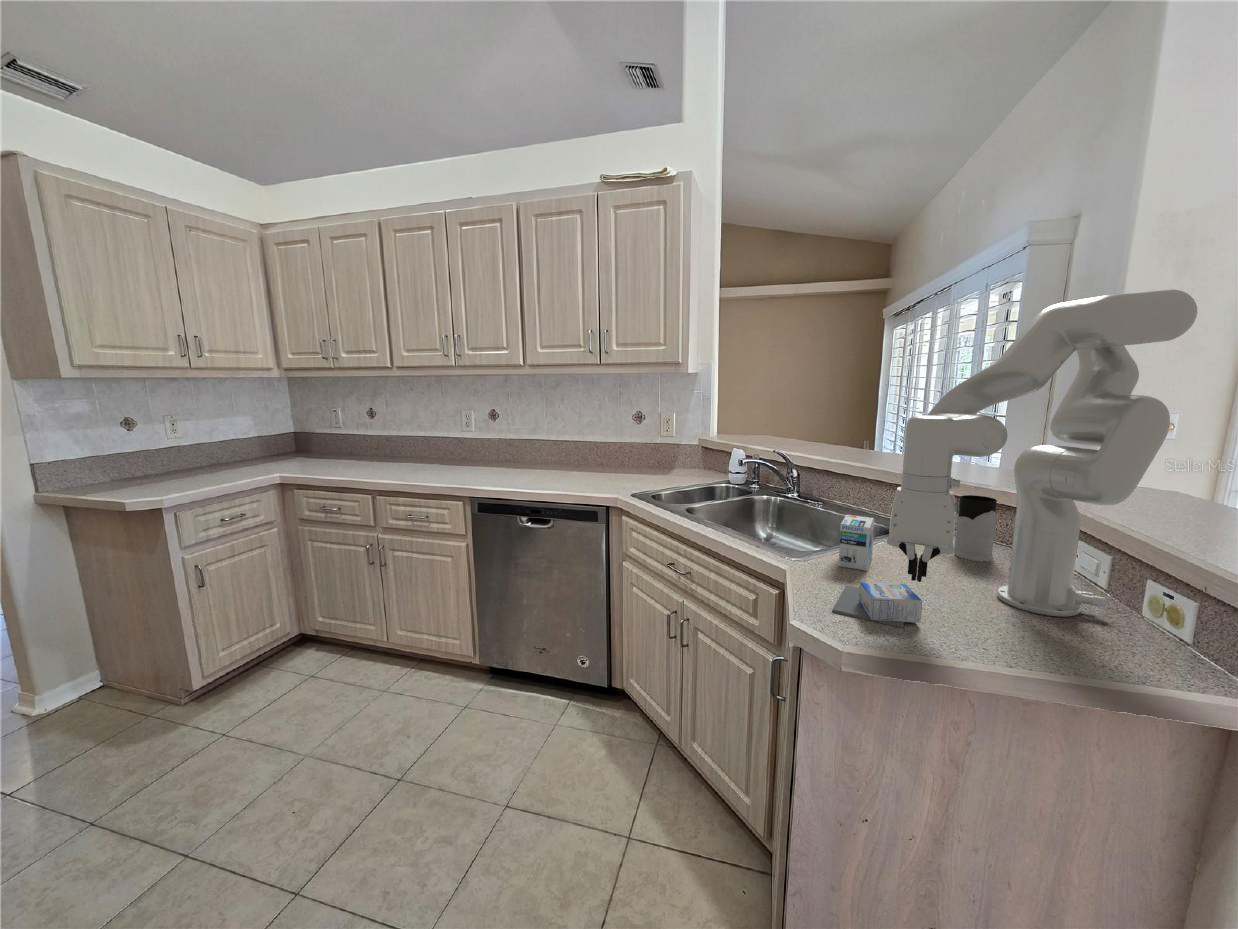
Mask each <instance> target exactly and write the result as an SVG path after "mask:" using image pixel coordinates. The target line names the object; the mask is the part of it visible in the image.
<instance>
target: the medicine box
mask: <svg viewBox="0 0 1238 929" xmlns="http://www.w3.org/2000/svg"><path fill="white" fill-rule="evenodd" d="M858 588H859V602H860V604H861V605H862V607H863V608H864V609H865V611H866V612H867V614H868V615H869V617H870V618H871V619H872V620H883V621H899V622H905V623H918V624H919V623H921V620H922V613H923V612H922V609H923V600H922V599H921V598H920V597H919V596H918V595H917V594H916V593H915V592H914V591H913V590H912V589H911V588H910V587H909V586H908V585H907V584H905V583H891V582H889V583H887V582H885V583H884V582H872V581H871V582H870V581H860V582H859V587H858Z"/></svg>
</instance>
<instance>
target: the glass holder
mask: <svg viewBox="0 0 1238 929" xmlns="http://www.w3.org/2000/svg"><path fill="white" fill-rule="evenodd" d="M997 501H998V499H996V498H994V497H989V496H983V495H973V494H972V495H971V494H969V495H968V494H965V495H961V496H960V497H959V503H958V500H957V499H956V498H955V515H957V517H956V518H957V519H956V526H955V529H956V530H955V532H954V539H955V540H954V541H955V542H954V555H953V556H955V555H957V556H959V557H958V558H960V557H961V558H960V559H963V558H965V559H964V560H967V559H968V561H974V562H983V561H986V562H992V561H993V560H994V559H995V556H994V555H993V548H994V539H995V531H996V521H997V505H998V502H997ZM957 556H956V557H957Z"/></svg>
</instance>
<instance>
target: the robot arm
mask: <svg viewBox="0 0 1238 929" xmlns="http://www.w3.org/2000/svg"><path fill="white" fill-rule="evenodd" d="M1197 305H1198V304H1197V302H1196V301H1195V299H1194V298H1193V297H1192V296H1191V294H1189V293H1188V292H1185V291H1183V290H1181V289H1180V290H1178V289H1163V290H1154V291H1144V292H1132V293H1130V292H1129V293H1118V294H1117V293H1116V294H1107V295H1101V296H1100V295H1099V296H1095V297H1088V298H1082V299H1077V300H1076V299H1075V300H1070V301H1065V302H1064V301H1063V302H1059V303H1056V304H1052V305H1050V306H1048V307H1046V308H1044V309H1043V310H1041V311H1040V312H1039V313H1038V314H1036V315H1035V317H1034V318H1033V319H1032V320H1031V321H1030V322H1029V324H1028V325H1026V327H1025V328H1024V329H1023V330H1022V332H1021V333H1020V334H1019V335H1018V336H1017V337H1016V338H1015V340H1013V342H1012V343H1011V344H1010V345H1009V347H1008V348H1007V349H1005V351H1004V352H1003V354H1002V355H1000V357H998V359H997V360H996V361H995V362H994V363H992V364H991V365H990V366H988V367H986V368H984V369H981V370H980V371H978V372H977V373H975V374H974V375H971V377H968V378H967V379H966V380H963V381H962V382H961V383H959V384H957V385H956V386H954V387H953V388H951V389H950V390H948V391H947V392H946V393H945V394H944V395H943V396H942V397H941V398H940V399H939V401H938V402H937V403H936V404H935V405H934V406H933V407H932V408H931V410H930V411H929V412H928V413H927V415H915V416H910V418H909V419H908V420H907V422H906V427H905V435H904V436H905V438H904V449H903V460H902V461H903V462H902V463H903V464H902V472H901V484H900V485H901V486H898V487H897V488H896V490H895V493H894V497H893V501H892V507H891V513H890V518H889V519H890V521H889V530H888V531H889V532H888V533H889V535H888V538H887V539H886V543H887V545H889V546H891V547H895V548H898V549H900V551H901V552H903V553H904V555H905V556H906V557H907V559H908V563H907V564H908V566H907V575H911V578H910V581H911V582H913V581H914V582H915V581H916V582H918V583H922V578H927V574H928V572H927V571H928V564H929V562H930V561H931V560H932V559H934V558H935V557H937V556H940V555H953V553H954V548H955V545H954V539H955V536H954V532H955V533H956V530H955V529H956V505H955V499H956V498H955V492H954V491H950V490H952V488H953V489H954V488H960V487H961V480H960V479H956V478H953V477H952V476H951V475H952V470H953V469H952V466H953V457H954V456H956V455H957V456H967V457H973V458H983V457H988V456H991V455H994V454H997V452H999V451H1001V449H1002V448H1003V447H1004V446H1005V445H1006V443H1007V440H1008V430H1007V427H1006V425H1005V424H1004V423H1003V422H1002V421H1000V420H999V419H998V418H995V417H994V416H989V415H986V414H978V413H980V412H982V411H983V410H985V409H987V408H989V407H991V406H995V405H997V404H1000V403H1004V402H1007V401H1011V400H1015V399H1017V398H1022V397H1023V396H1024V397H1025V396H1027V395H1029V394H1033V393H1035V392H1037V391H1039V390H1040V389H1042V388H1043V387H1044V386H1046V384H1047V383H1048V382H1049V380H1051V379H1052V377H1054V375H1055V374H1056V372H1057V371H1058V370H1059V369H1060V368H1061V367H1062V366H1063V365H1064V364H1065V362H1066V361H1067V360H1068V359H1069V358H1070V357H1071V356H1072V354H1074V352H1076V353H1077V355H1078V356H1077V358H1078V371H1077V372H1076V375H1075V377H1074V379H1073V380H1072V383H1071V385H1070V386H1069V388H1068V390H1067V391H1066V393H1065V395H1064V397H1063V398H1062V399H1061V401H1060V403H1059V405H1058V407H1057V409H1056V411H1055V413H1054V415H1053V416H1052V419H1051V421H1050V425H1049V426H1050V427H1049V430H1050V432H1051V434H1052V436H1053V437H1054V438H1055V439H1057V440H1059V441H1061V442H1064V443H1068V444H1075V445H1080V446H1088V447H1099V449H1093V448H1092V449H1090V448H1081V447H1079V446H1078V447H1075V446H1067V445H1065V446H1064V445H1059V444H1058V445H1057V444H1040V445H1035V446H1032V447H1029V448H1027V449H1025V450H1023V451H1022V452H1021V453H1020V454H1019V455H1018V457H1017V458H1016V460H1015V463H1014V467H1013V470H1014V471H1013V473H1014V483H1015V490H1016V491H1015V492H1016V508H1015V511H1016V513H1015V518H1014V519H1015V520H1014V528H1013V536H1012V548H1011V555H1010V564H1009V570H1008V571H1009V572H1008V573H1009V574H1008V579H1007V580H1008V581H1007V585H1002V586H1000V587H998V588H997V590H996V596H997V597H998V599H1000V600H1001V601H1003V602H1004V603H1006V604H1008V605H1010V606H1012V607H1014V608H1017V609H1020V610H1023V611H1026V612H1030V613H1034V614H1038V615H1044V616H1049V617H1050V616H1051V617H1074V616H1076V615H1079V614H1080V613H1081V608H1082V607H1081V606H1082V604H1083V605H1088V606H1092V607H1096V608H1105V607H1106V597H1103V596H1099V595H1097V596H1096V595H1094V593H1093V592H1089V591H1080V590H1078V589H1077V588H1075V586H1074V585H1073V582H1074V574H1075V569H1076V568H1075V566H1076V559H1077V553H1078V552H1077V551H1078V544H1079V536H1080V532H1081V531H1080V530H1081V515H1080V512H1079V509H1078V507H1077V505H1076V503H1075V501H1077V502H1081V503H1087V504H1092V505H1099V506H1114V505H1115V506H1116V505H1118V504H1120V503H1122V502H1124V501H1125V500H1127V499H1128V498H1129V497H1130V496H1131V495H1132V494H1133V493H1134V491H1135V489H1136V488H1137V487H1138V485H1139V484H1140V483H1141V481H1142V479H1143V477H1144V475H1145V474H1146V472H1147V470H1148V469H1149V467H1150V466H1151V464H1152V462H1153V461H1154V459H1155V458H1156V455H1157V453H1159V450H1160V449H1161V447H1162V445H1163V444H1164V441H1165V440H1166V438H1167V435H1168V433H1169V429H1170V425H1171V414H1170V411H1169V408H1168V407H1167V405H1166V404H1165V403H1164V402H1163V401H1161V400H1159V399H1158V398H1156V397H1153V396H1149V395H1144V394H1143V395H1140V394H1132V393H1133V391H1134V390H1135V388H1136V385H1137V384H1138V381H1139V377H1140V372H1139V371H1140V370H1139V368H1138V367H1139V366H1138V365H1137V362H1136V361H1135V359H1134V358H1133V357H1132V355H1131V354H1130V352H1129V351H1128V350H1127V348H1126V346H1131V345H1132V346H1135V345H1144V344H1152V343H1160V342H1161V343H1162V342H1169V341H1172V340H1173V341H1174V340H1175V339H1177V338H1179V337H1182V336H1183V335H1184V334H1185V333H1187V332H1188V331H1189V330H1190V328H1192V326H1193V324H1194V323H1195V322H1196V319H1197V316H1198V306H1197ZM916 545H917V546H924V548H923V552H922V554H920V556H919V557H918V554H917V552H916Z"/></svg>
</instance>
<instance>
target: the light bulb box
mask: <svg viewBox="0 0 1238 929" xmlns="http://www.w3.org/2000/svg"><path fill="white" fill-rule="evenodd" d="M839 528H840V531H839V533H840V535H839V550H838V567H843V568H848V569H849V568H850V569H852V570H853V569H854V570H859V571H866V572H868V571H869V569H870V565H871V563H872V560H873V548H874V536H875V534H874V532H875V518H874V517H867V516H859V515H853V514H846V515H845V516H844V518H843V520H842V521H841V523H840V527H839Z"/></svg>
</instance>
